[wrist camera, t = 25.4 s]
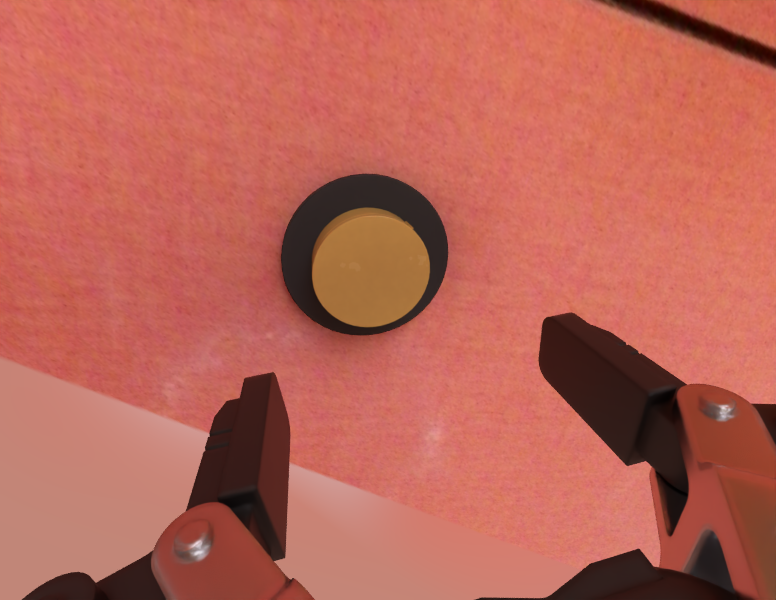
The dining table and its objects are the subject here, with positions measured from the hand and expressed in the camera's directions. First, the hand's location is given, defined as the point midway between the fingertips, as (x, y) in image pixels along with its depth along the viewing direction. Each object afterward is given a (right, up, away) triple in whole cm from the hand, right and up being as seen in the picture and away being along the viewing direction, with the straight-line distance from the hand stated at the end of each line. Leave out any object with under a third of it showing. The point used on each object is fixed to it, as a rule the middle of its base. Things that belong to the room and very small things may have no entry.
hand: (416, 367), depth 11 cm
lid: (-2, +3, +7) cm, 8 cm away
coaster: (-2, +4, +9) cm, 11 cm away
